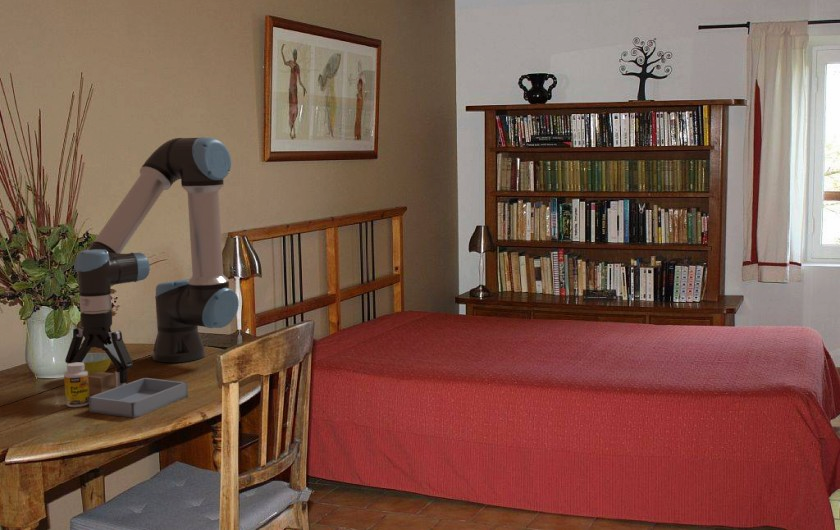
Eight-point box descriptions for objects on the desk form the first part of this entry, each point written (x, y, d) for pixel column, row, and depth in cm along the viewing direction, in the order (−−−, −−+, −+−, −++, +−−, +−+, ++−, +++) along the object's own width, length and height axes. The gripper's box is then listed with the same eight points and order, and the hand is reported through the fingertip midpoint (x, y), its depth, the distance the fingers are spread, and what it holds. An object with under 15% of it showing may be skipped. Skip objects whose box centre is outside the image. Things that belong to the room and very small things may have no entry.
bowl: (121, 376, 252) (120, 354, 251) (90, 386, 241) (89, 363, 241) (89, 372, 256) (88, 351, 256) (58, 382, 246) (57, 360, 245)
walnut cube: (100, 390, 238) (99, 371, 237) (115, 392, 236) (114, 373, 235) (86, 395, 233) (85, 376, 233) (101, 397, 231) (100, 378, 231)
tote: (144, 391, 236) (144, 377, 236) (187, 396, 231) (187, 382, 230) (89, 411, 218) (88, 397, 218) (134, 418, 213) (133, 403, 212)
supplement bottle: (68, 409, 221) (66, 367, 219) (63, 404, 225) (60, 363, 224) (92, 405, 224) (90, 364, 223) (87, 400, 229) (84, 360, 227)
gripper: (47, 310, 233) (52, 391, 236) (124, 316, 223) (128, 401, 226) (69, 305, 240) (74, 384, 243) (145, 311, 230) (149, 394, 233)
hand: (100, 393), depth 234 cm, fingers open, 13 cm apart
